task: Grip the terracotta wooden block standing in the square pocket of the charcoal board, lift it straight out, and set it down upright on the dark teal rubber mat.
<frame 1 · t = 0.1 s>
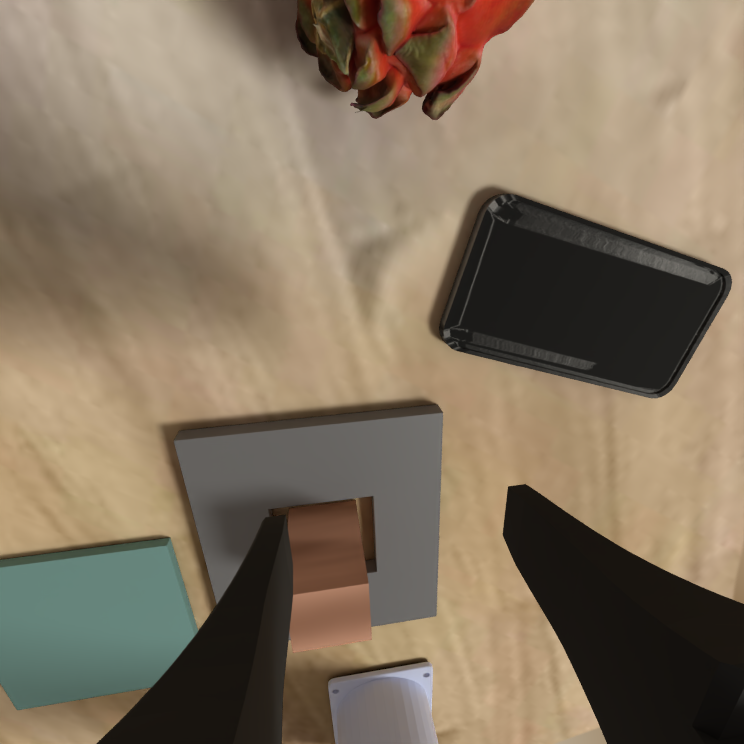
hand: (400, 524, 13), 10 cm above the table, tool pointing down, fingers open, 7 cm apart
teal mat: (91, 624, 26), on the table
terracotta block: (327, 568, 23), in the charcoal pocket board
phone: (576, 304, 23), on the table
charcoal pocket board: (325, 530, 25), on the table
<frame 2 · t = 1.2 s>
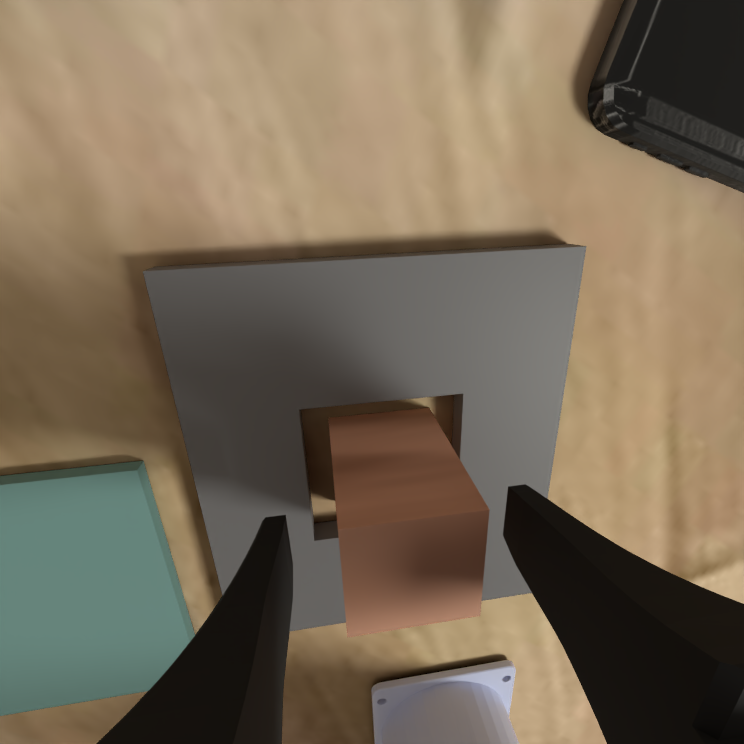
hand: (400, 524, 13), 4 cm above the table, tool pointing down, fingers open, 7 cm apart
teal mat: (26, 599, 17), on the table
terracotta block: (394, 504, 14), in the charcoal pocket board
charcoal pocket board: (381, 456, 17), on the table
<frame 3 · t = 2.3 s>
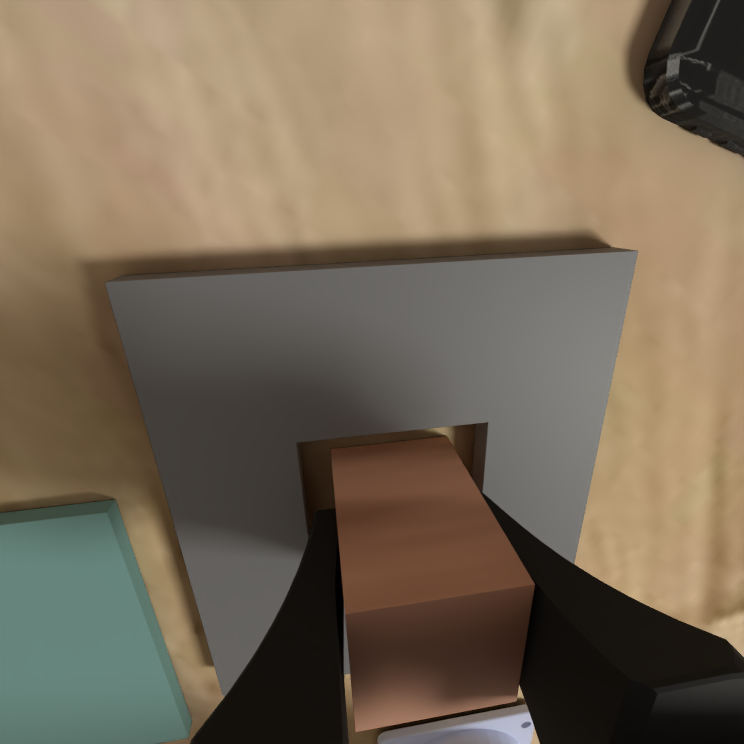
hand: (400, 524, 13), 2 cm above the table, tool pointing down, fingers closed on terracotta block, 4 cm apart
terracotta block: (409, 556, 12), in the charcoal pocket board, touching gripper
charcoal pocket board: (390, 490, 15), on the table
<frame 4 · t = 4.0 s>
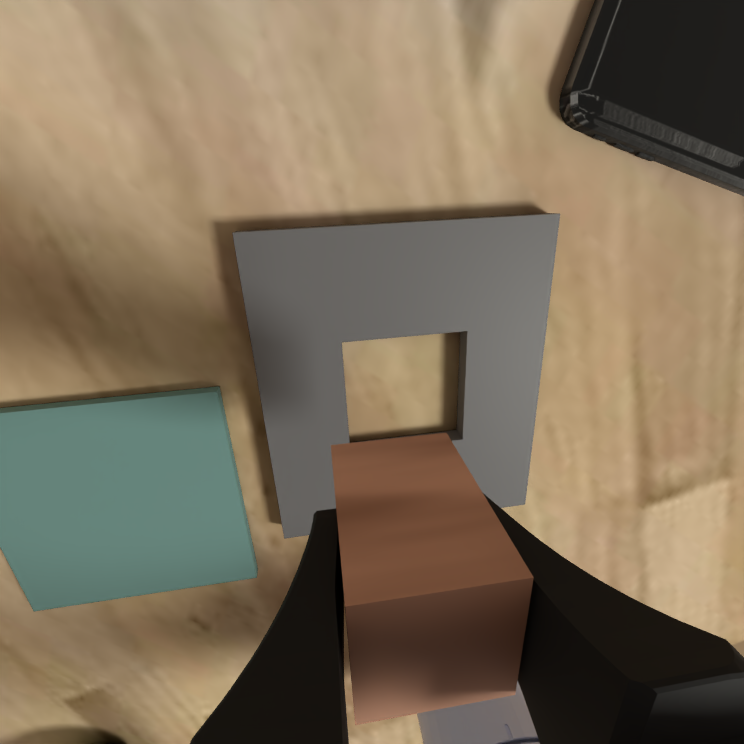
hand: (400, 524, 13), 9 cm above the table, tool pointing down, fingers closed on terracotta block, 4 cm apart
teal mat: (123, 502, 21), on the table
terracotta block: (409, 551, 12), point 10 cm above the table, touching gripper
phone: (721, 84, 18), on the table
charcoal pocket board: (402, 386, 21), on the table
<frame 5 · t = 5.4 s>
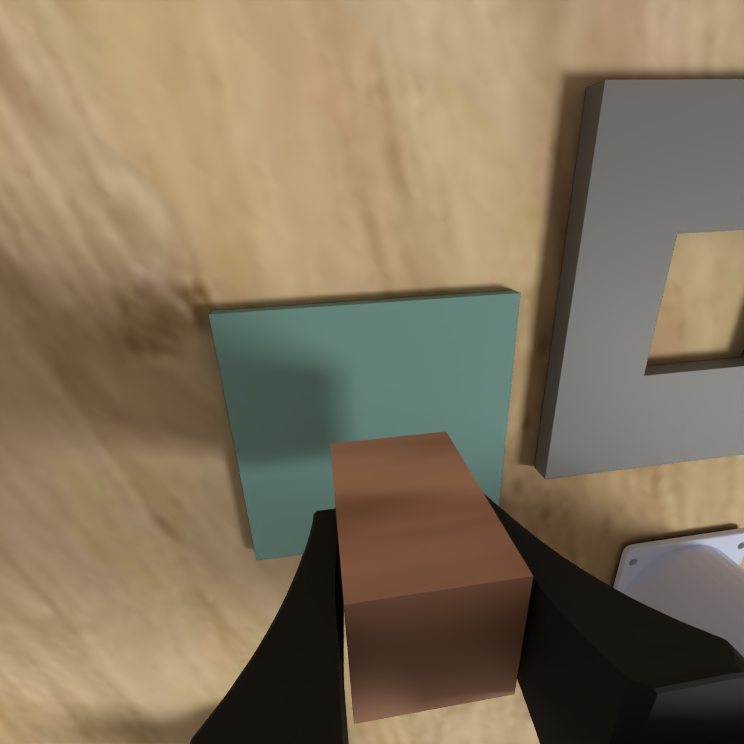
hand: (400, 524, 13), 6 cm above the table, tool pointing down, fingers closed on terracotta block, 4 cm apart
teal mat: (374, 431, 18), on the table
terracotta block: (408, 550, 12), point 7 cm above the table, touching gripper
charcoal pocket board: (702, 299, 18), on the table
when the fingers open (3 cm above the table, at t = 6.3 s): terracotta block stays where it is, resting on teal mat.
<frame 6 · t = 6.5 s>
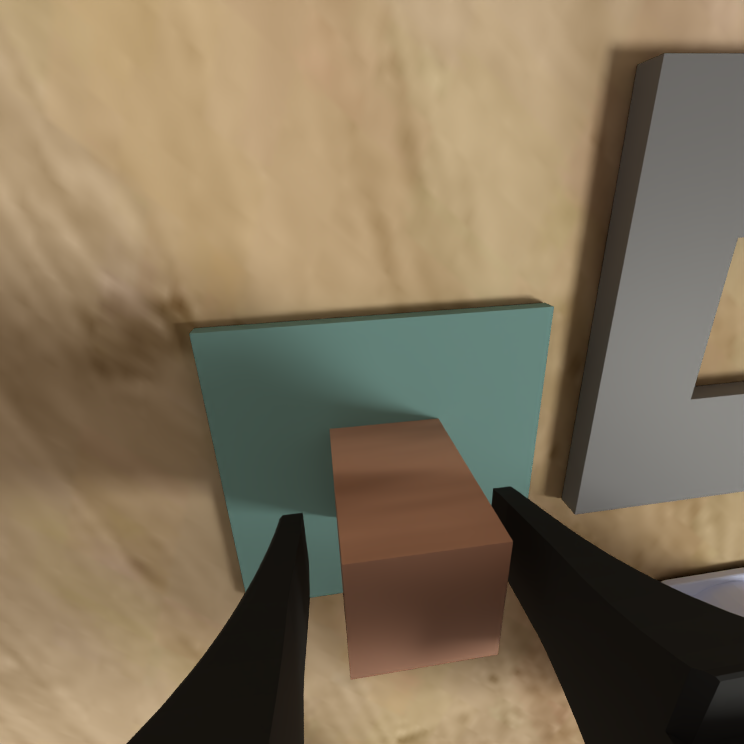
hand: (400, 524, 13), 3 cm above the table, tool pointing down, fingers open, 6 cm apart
teal mat: (383, 463, 16), on the table
terracotta block: (402, 526, 13), on the teal mat, point 4 cm above the table
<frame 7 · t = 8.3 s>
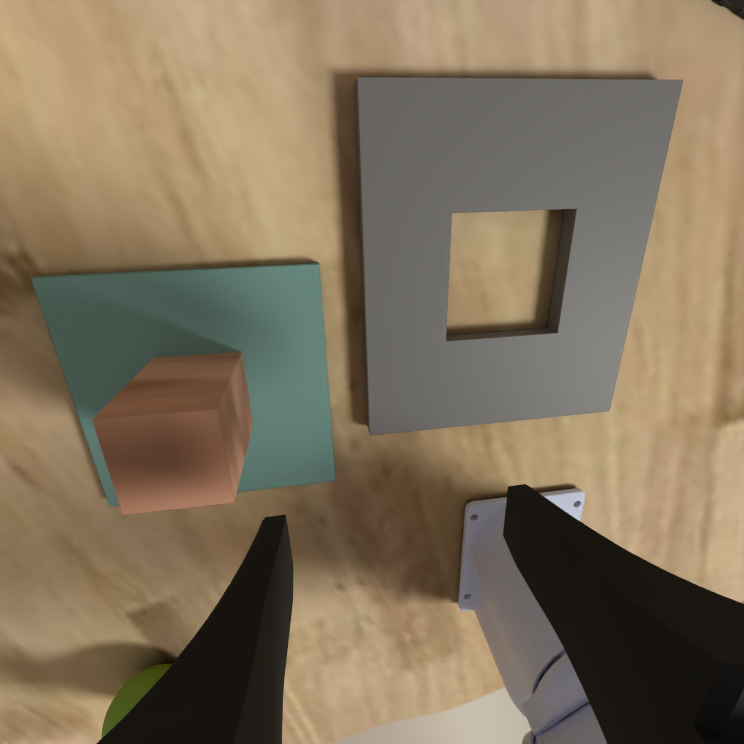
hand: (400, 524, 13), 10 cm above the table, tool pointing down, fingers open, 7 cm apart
teal mat: (208, 389, 21), on the table
terracotta block: (189, 422, 17), on the teal mat, point 4 cm above the table
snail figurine: (174, 671, 28), on the table
charcoal pocket board: (499, 274, 21), on the table
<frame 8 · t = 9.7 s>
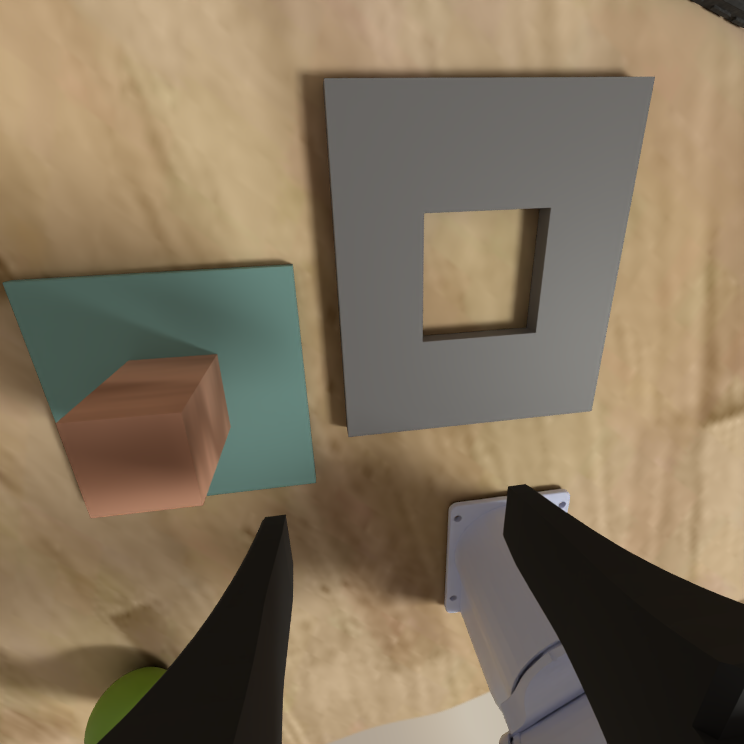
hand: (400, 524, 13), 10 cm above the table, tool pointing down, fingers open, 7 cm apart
teal mat: (185, 392, 21), on the table
terracotta block: (162, 425, 17), on the teal mat, point 4 cm above the table
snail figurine: (160, 674, 28), on the table
charcoal pocket board: (476, 274, 21), on the table
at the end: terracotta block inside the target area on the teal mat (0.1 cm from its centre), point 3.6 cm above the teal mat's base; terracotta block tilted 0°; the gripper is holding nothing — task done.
